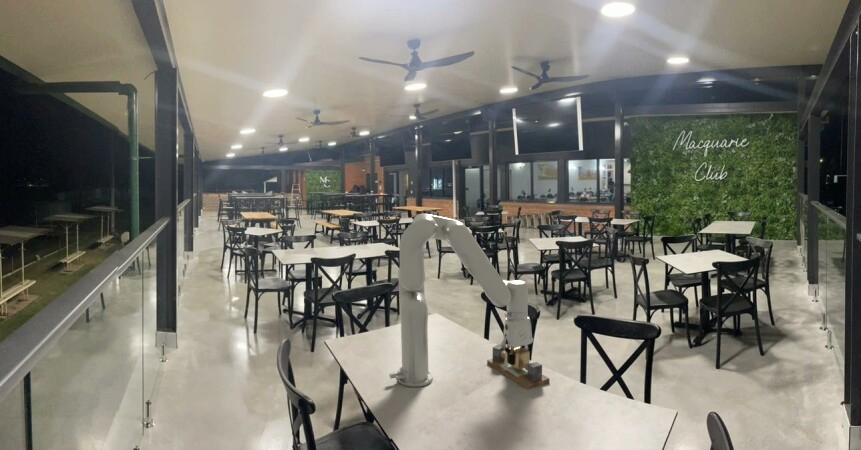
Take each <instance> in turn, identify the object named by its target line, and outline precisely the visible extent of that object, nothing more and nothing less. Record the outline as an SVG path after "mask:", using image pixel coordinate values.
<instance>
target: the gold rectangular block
mask: <svg viewBox="0 0 861 450" xmlns="http://www.w3.org/2000/svg"><path fill="white" fill-rule="evenodd" d="M506 347H507V345H506ZM510 348H511V347H510ZM513 354H514V365H511V364H510V365H511V366H513V367H515V368H516V369H518V370H520V369H523V368H525V365H526V364H527V363H529V364H530V361H531V360H530V358H531V357H530V350H529V349H528V350H526V349H525V348H523V347H521V346H520V347H516V348H514V351H513ZM505 362H506V363H508V361H507V352H506V351H505ZM508 364H509V363H508Z"/></svg>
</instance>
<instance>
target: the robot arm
mask: <svg viewBox="0 0 861 450" xmlns="http://www.w3.org/2000/svg"><path fill="white" fill-rule="evenodd" d="M431 239H435V240H441V241H446V242H447V243H448V244H449V246H450V247H451V250H452V251H454V253H455V254H456V256H457V258H458V259H459V260H460V262H461V263H462V265H463V266H464V268H465V269H466V270H467V272H468V273H469V274H470V275H471V276H472V277H473V278H474V280H476V282H477V283H478V284H479V285H480V287H481V288H482V290H483V292H484V294H485V296H486V297H487V298H488V299H489V300H490V302H491V304H493V305H494V306H495V307H498V308H503V307H506V313H504V317H505V319H504V326H503V338H502V339H503V340H502V342H501V343H500V344H499V345H500V347H501V348H502V349H504V350H505V351H506V352H507V361H508V363H509V364H511V365H514V354H513V351H514V348H516V347H520V346H521V347H523V348H525V349H526V350H528V351H529V348H530V346H531V345H532V343H533V342H534V340H535V339H534V338H533V334H532V333H533V332H532V331H533V330H532V322H531V319H530V316H529V315H528V313H529V312H528V310H529V309H528V307H529V302H528V301H529V285H528V283H527V282H526V281H524V280H520V279H515V280H503V278H502V277H501V276H500V274H499V273H498V271H497V270H496V268H495V267H494V265H493V264H492V262H491V260H490V259H489V257H488V256H487V255H486V253H485V251H484V250H483V249H482V247H481V246H480V244H479V243H478V241H477V240H476V239H475V237H474V236H473V234H472V232H471V231H470V230H469V228H468V226H466V225H465V224H464V223H463V222H461V221H459V220H457V219H453V218H448V217H443V216H440V215H439V216H438V215H433V214H429V213H419V214H417V215H416V216H414V218H413V220H412V222H411V224H410V225H409V226H407V228H406V229H404V232H403V233H402V235H401V238H400V241H399V268H398V270H397V271H398V272H397V277H398V278H397V280H398V296H399V306H400V335H401V336H400V341H401V343H400V344H401V366H400V367H399V369H398V370H397V371H395V372H390V373H389V379H391V380H392V379H395V380H396V381H398V383H400V384H401V385H403V386H405V387H410V388H417V387H419V388H420V387H423V386H427V385H429V384H430V383H432V381H433V379H434V378H433V377H434V376H433V373H432V372H430V371H429V337H428V335H429V334H428V327H429V326H428V323H429V322H428V321H429V307H428V303H427V300H426V297H425V282H426V273H425V262H424V261H425V259H424V256H425V254H424V253H425V252H424V251H425V249H424V248H425V245H426V243H427V242H429V241H430V240H431ZM506 346H507V347H506ZM510 347H511V348H510Z"/></svg>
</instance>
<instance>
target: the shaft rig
mask: <svg viewBox="0 0 861 450" xmlns="http://www.w3.org/2000/svg"><path fill="white" fill-rule="evenodd" d="M500 345H501V344H497V345H494V346H492V358H491V359H487V360H486V361H487V362H486V364H487V365H488V366H490V367H492V368H493V369H495V370H496V371H498V372H499V373H500V374H503V375H504V376H506V377H507V378H509V379H511V380H512V381H513V382H515V383H517V384H518V385H520V386H521V387H523V388H525V389H526V390H529V389H533V388H536V387H540V386H542V385H547V384H549V383H550V377H548V376H546V375H544V374H543V364H541V363H539V362H537V361H535V362H532V363H527V364H526V365H525V368H523V369H520V370H518V369H516V368H515V367H513V366H511V365H510V364H508V363H506V362H505V350H504V349H502V348H501V347H500Z"/></svg>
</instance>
